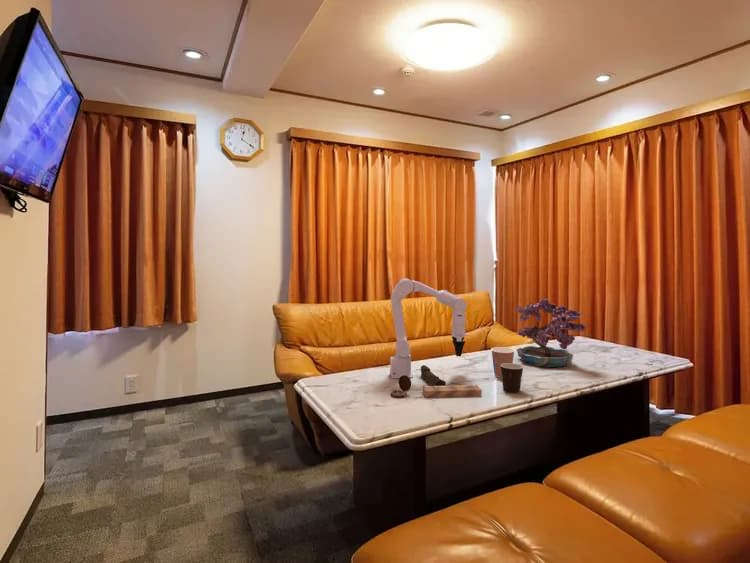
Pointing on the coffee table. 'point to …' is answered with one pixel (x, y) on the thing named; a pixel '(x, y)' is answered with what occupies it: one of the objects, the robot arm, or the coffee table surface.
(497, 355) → the coffee cup
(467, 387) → the light brown wooden board
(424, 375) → the hand tool
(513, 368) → the coffee mug
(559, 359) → the bonsai tree
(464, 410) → the coffee table surface
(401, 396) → the compass
